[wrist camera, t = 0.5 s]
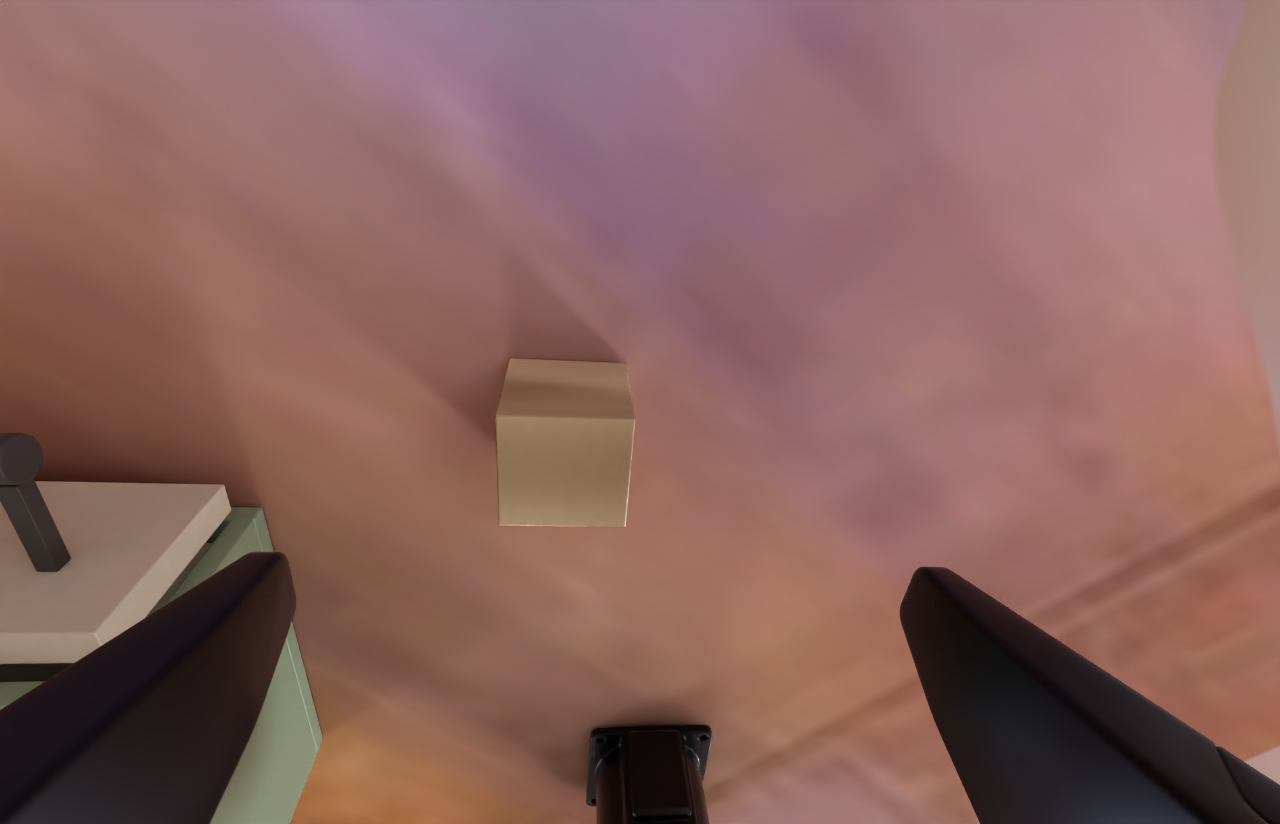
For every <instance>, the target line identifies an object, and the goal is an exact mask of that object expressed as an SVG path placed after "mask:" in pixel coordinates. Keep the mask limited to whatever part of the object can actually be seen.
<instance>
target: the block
mask: <svg viewBox="0 0 1280 824" xmlns="http://www.w3.org/2000/svg"><path fill="white" fill-rule="evenodd" d="M495 423H496V453H497V484H498V514H499V525H500V526H585V527H625V526H626V516H627V506H628V495H629V484H630V473H631V462H632V452H633V441H634V430H635V414H634V408H633V402H632V395H631V389H630V383H629V376H628V370H627V364H626V363H609V362H586V361H562V360H539V359H515V358H510V359H509V363H508V367H507V371H506V375H505V379H504V383H503V387H502V391H501V395H500V399H499V403H498V407H497V411H496V415H495Z"/></svg>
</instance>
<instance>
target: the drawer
mask: <svg viewBox="0 0 1280 824" xmlns="http://www.w3.org/2000/svg"><path fill="white" fill-rule="evenodd" d="M42 462H43V451H42V448H41V445H40V443H39V442H38V441H37V440H36V439H35V438H34V437H32V436H30V435H28V434H24V433H0V682H22V681H46V680H48V679H50V678H51V677H53V676H54V675H56V674H57V673H59V672H61V671H62V670H64V669H65V668H67V667H68V666H70V665H72V664H73V663H75V662H76V661H78V660H80V659H81V658H83V657H84V656H86V655H87V654H89V653H91V652H92V651H94V650H95V649H97V648H98V647H100V646H102V645H103V644H105V643H106V642H108V641H110V640H111V639H113V638H114V637H116V636H117V635H119V634H121V633H122V632H124V631H125V630H127V629H129V628H130V627H132V626H133V625H135V624H136V623H138V622H140V621H141V620H143V619H144V618H146V617H147V616H149V615H151V614H152V613H154V612H155V611H157V610H159V609H160V608H162V607H163V606H164V605H165V604H166V602H167V601H168V600H169V598H170V597H171V596H172V595H173V593H174V592H175V591H176V590H177V588H178V587H179V586H180V584H181V583H182V582H183V581H184V579H185V578H186V577H187V576H188V574H189V573H190V572H191V571H192V569H193V568H194V567H195V565H196V564H197V563H198V562H199V560H200V559H201V558H202V557H203V555H204V554H205V553H206V551H207V550H208V549H209V548H210V546H211V545H212V544H213V543H206V541H207V540H208V539H209V538H210V536H211V535H212V534H213V533H214V531H215V530H216V529H217V528H218V526H219V525H220V524H221V523H222V521H223V520H224V519H225V518H226V516H227V515H228V514H229V513H230V512H231V507H230V503H229V500H228V497H227V493H226V490H225V486H224V485H217V484H162V483H108V482H53V481H35V480H34V477H35V476H36V475H37V473H38V472H39V470H40V468H41V465H42Z"/></svg>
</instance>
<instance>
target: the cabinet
mask: <svg viewBox="0 0 1280 824" xmlns="http://www.w3.org/2000/svg"><path fill="white" fill-rule="evenodd" d="M206 543H213V544H212V545H211V546H210V548H209V549H208V550H207V551H206V553H205V554H204V555H203V557H202V558H201V559H200V560H199V562H198V563H197V564H196V565H195V567H194V568H193V569H192V571H191V572H190V573H189V574H188V576H187V577H186V578H185V579H184V581H183V582H182V583H181V584H180V586H179V587H178V588H177V590H176V591H175V592H174V593H173V595H172V596H171V597H170V598H169V600H168V601H167V602H166V604H168V603H170V602H171V601H173V600H174V599H176V598H177V597H179V596H181V595H182V594H184V593H185V592H187V591H189V590H190V589H192V588H193V587H195V586H196V585H198V584H200V583H201V582H203V581H204V580H206V579H208V578H209V577H211V576H212V575H214V574H215V573H217V572H219V571H220V570H222V569H223V568H225V567H226V566H228V565H230V564H231V563H233V562H234V561H236V560H238V559H239V558H241V557H242V556H244V555H246V554H248V553H250V552H274V551H273V547H272V543H271V539H270V535H269V532H268V528H267V524H266V520H265V516H264V512H263V509H262V508H260V507H231V512H230V513H229V514H228V515H227V516H226V518H225V519H224V520H223V521H222V523H221V524H220V525H219V526H218V528H217V529H216V530H215V531H214V533H213V534H212V535H211V536H210V538H209V539H208V540H207V541H206ZM166 604H165V605H166ZM165 605H164V606H165ZM43 682H45V681H22V682H0V710H1V709H2V708H4V707H5V706H7V705H8V704H10V703H12V702H13V701H15V700H16V699H18V698H20V697H21V696H23V695H24V694H26V693H27V692H29V691H31V690H32V689H34V688H35V687H37V686H38V685H40V684H42V683H43ZM322 739H323V737H322V733H321V729H320V726H319V722H318V718H317V714H316V710H315V707H314V703H313V699H312V695H311V691H310V688H309V684H308V680H307V676H306V672H305V669H304V665H303V661H302V657H301V653H300V650H299V646H298V642H297V638H296V634H295V630H294V627H293V623H291V626H290V629H289V632H288V634H287V637H286V640H285V643H284V646H283V649H282V652H281V655H280V658H279V660H278V663H277V666H276V669H275V672H274V675H273V678H272V681H271V683H270V686H269V689H268V692H267V695H266V698H265V701H264V704H263V707H262V709H261V712H260V715H259V717H258V720H257V723H256V725H255V728H254V730H253V732H252V734H251V737H250V739H249V741H248V744H247V746H246V748H245V750H244V752H243V754H242V756H241V759H240V761H239V763H238V765H237V767H236V769H235V771H234V773H233V776H232V778H231V780H230V782H229V784H228V786H227V788H226V790H225V792H224V795H223V797H222V799H221V801H220V803H219V805H218V807H217V809H216V812H215V814H214V816H213V818H212V820H211V822H210V824H290V822H291V820H292V817H293V815H294V812H295V810H296V807H297V804H298V802H299V799H300V797H301V794H302V792H303V789H304V786H305V784H306V781H307V779H308V776H309V774H310V771H311V768H312V766H313V763H314V761H315V758H316V756H317V752H318V750H319V747H320V745H321V742H322Z"/></svg>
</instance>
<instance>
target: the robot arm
mask: <svg viewBox="0 0 1280 824" xmlns="http://www.w3.org/2000/svg"><path fill="white" fill-rule="evenodd" d="M295 609H296V595H295V590H294V585H293V581H292V576H291V572H290V567H289V562H288V559H287V557H286V556H285V555H284V554H283V553H280V552H250V553H248V554H246V555H244V556H242V557H241V558H239V559H238V560H236V561H234V562H233V563H231V564H230V565H228V566H226V567H225V568H223V569H222V570H220V571H219V572H217V573H215V574H214V575H212V576H211V577H209V578H208V579H206V580H204V581H203V582H201V583H200V584H198V585H196V586H195V587H193V588H192V589H190V590H189V591H187V592H185V593H184V594H182V595H181V596H179V597H177V598H176V599H174V600H173V601H171V602H170V603H168V604H166V605H165V606H163V607H162V608H160V609H159V610H157V611H155V612H154V613H152V614H151V615H149V616H147V617H146V618H144V619H143V620H141V621H140V622H138V623H136V624H135V625H133V626H132V627H130V628H129V629H127V630H125V631H124V632H122V633H121V634H119V635H117V636H116V637H114V638H113V639H111V640H110V641H108V642H106V643H105V644H103V645H102V646H100V647H98V648H97V649H95V650H94V651H92V652H91V653H89V654H87V655H86V656H84V657H83V658H81V659H80V660H78V661H76V662H75V663H73V664H72V665H70V666H68V667H67V668H65V669H64V670H62V671H61V672H59V673H57V674H56V675H54V676H53V677H51V678H50V679H48V680H46V681H45V682H43V683H42V684H40V685H38V686H37V687H35V688H34V689H32V690H31V691H29V692H27V693H26V694H24V695H23V696H21V697H20V698H18V699H16V700H15V701H13V702H12V703H10V704H8V705H7V706H5V707H4V708H2V709H1V710H0V824H210V822H211V820H212V818H213V816H214V814H215V812H216V809H217V807H218V805H219V803H220V801H221V799H222V797H223V795H224V792H225V790H226V788H227V786H228V784H229V782H230V780H231V778H232V776H233V773H234V771H235V769H236V767H237V765H238V763H239V761H240V759H241V756H242V754H243V752H244V750H245V748H246V746H247V744H248V741H249V739H250V737H251V734H252V732H253V730H254V728H255V725H256V723H257V720H258V717H259V715H260V712H261V709H262V707H263V704H264V701H265V698H266V695H267V692H268V689H269V686H270V683H271V681H272V678H273V675H274V672H275V669H276V666H277V663H278V660H279V658H280V655H281V652H282V649H283V646H284V643H285V640H286V637H287V634H288V632H289V629H290V626H291V623H292V620H293V617H294V614H295ZM900 620H901V624H902V627H903V630H904V633H905V636H906V639H907V642H908V645H909V648H910V651H911V654H912V657H913V660H914V663H915V666H916V669H917V672H918V675H919V678H920V681H921V684H922V686H923V689H924V692H925V695H926V698H927V701H928V704H929V707H930V710H931V712H932V715H933V718H934V720H935V723H936V725H937V727H938V730H939V732H940V735H941V737H942V739H943V741H944V744H945V746H946V748H947V750H948V753H949V755H950V757H951V759H952V762H953V764H954V766H955V768H956V770H957V773H958V775H959V777H960V779H961V782H962V784H963V786H964V788H965V791H966V793H967V795H968V797H969V800H970V802H971V804H972V806H973V808H974V811H975V813H976V815H977V817H978V820H979V822H980V824H1280V785H1279V784H1277V783H1276V782H1274V781H1273V780H1271V779H1270V778H1268V777H1267V776H1265V775H1263V774H1262V773H1260V772H1259V771H1257V770H1256V769H1254V768H1253V767H1251V766H1250V765H1248V764H1246V763H1245V762H1243V761H1242V760H1240V759H1239V758H1237V757H1236V756H1234V755H1233V754H1231V753H1230V752H1228V751H1227V750H1225V749H1224V748H1222V747H1216V746H1215V744H1214V743H1213V742H1212V741H1211V740H1210V739H1208V738H1207V737H1205V736H1204V735H1202V734H1200V733H1199V732H1197V731H1196V730H1194V729H1193V728H1191V727H1190V726H1188V725H1187V724H1185V723H1184V722H1182V721H1181V720H1179V719H1178V718H1176V717H1174V716H1173V715H1171V714H1170V713H1168V712H1167V711H1165V710H1164V709H1162V708H1161V707H1159V706H1158V705H1156V704H1155V703H1153V702H1152V701H1150V700H1148V699H1147V698H1145V697H1144V696H1142V695H1141V694H1139V693H1138V692H1136V691H1135V690H1133V689H1132V688H1130V687H1129V686H1127V685H1125V684H1124V683H1122V682H1121V681H1119V680H1118V679H1116V678H1115V677H1113V676H1112V675H1110V674H1109V673H1107V672H1106V671H1104V670H1103V669H1101V668H1099V667H1098V666H1096V665H1095V664H1093V663H1092V662H1090V661H1089V660H1087V659H1086V658H1084V657H1083V656H1081V655H1080V654H1078V653H1077V652H1075V651H1073V650H1072V649H1070V648H1069V647H1067V646H1066V645H1064V644H1063V643H1061V642H1060V641H1058V640H1057V639H1055V638H1054V637H1052V636H1050V635H1049V634H1047V633H1046V632H1044V631H1043V630H1041V629H1040V628H1038V627H1037V626H1035V625H1034V624H1032V623H1031V622H1029V621H1028V620H1026V619H1024V618H1023V617H1021V616H1020V615H1018V614H1017V613H1015V612H1014V611H1012V610H1011V609H1009V608H1008V607H1006V606H1005V605H1003V604H1002V603H1000V602H998V601H997V600H995V599H994V598H992V597H991V596H989V595H988V594H986V593H985V592H983V591H982V590H980V589H979V588H977V587H976V586H974V585H972V584H971V583H969V582H968V581H966V580H965V579H963V578H962V577H960V576H959V575H957V574H956V573H954V572H953V571H951V570H949V569H947V568H944V567H920V568H918V569H917V570H916V571H915V572H914V574H913V577H912V579H911V581H910V584H909V586H908V589H907V591H906V593H905V596H904V598H903V601H902V603H901V606H900ZM712 738H713V737H712V731H711V728H710V727H709V726H707V725H690V726H652V727H613V728H597V729H594V730H593V731H592V732H591V734H590V748H589V762H588V775H587V789H586V803H587V804H588V805H590V806H596V811H597V824H709V819H708V813H707V807H706V802H705V796H704V790H703V784H702V782H703V778H704V774H705V769H706V765H707V760H708V756H709V751H710V747H711V743H712Z"/></svg>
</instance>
